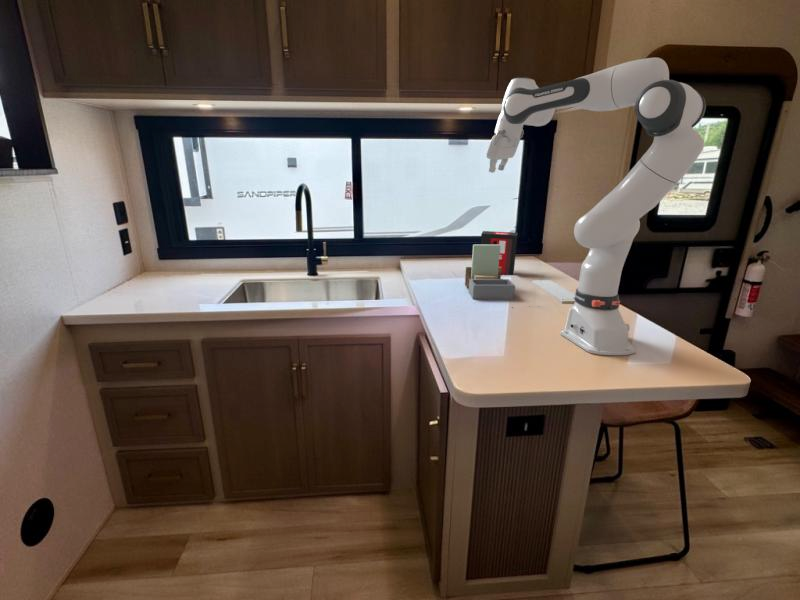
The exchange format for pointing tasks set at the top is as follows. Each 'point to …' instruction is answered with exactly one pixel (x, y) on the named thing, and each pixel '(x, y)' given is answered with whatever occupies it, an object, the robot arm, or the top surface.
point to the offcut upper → (484, 277)
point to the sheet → (485, 260)
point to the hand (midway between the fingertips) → (496, 171)
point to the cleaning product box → (503, 248)
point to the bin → (491, 289)
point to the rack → (468, 275)
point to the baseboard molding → (555, 291)
